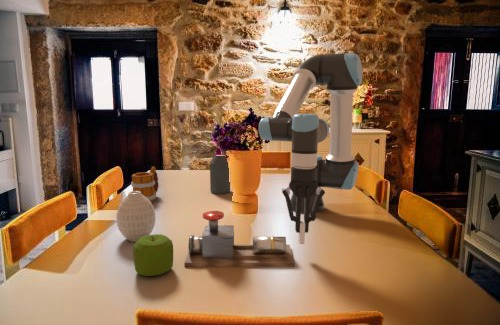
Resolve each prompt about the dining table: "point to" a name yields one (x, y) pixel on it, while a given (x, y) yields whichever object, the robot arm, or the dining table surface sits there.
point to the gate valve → (214, 239)
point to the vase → (135, 216)
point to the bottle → (219, 175)
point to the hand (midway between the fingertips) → (301, 242)
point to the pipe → (269, 245)
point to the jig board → (244, 259)
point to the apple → (153, 255)
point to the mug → (146, 184)
